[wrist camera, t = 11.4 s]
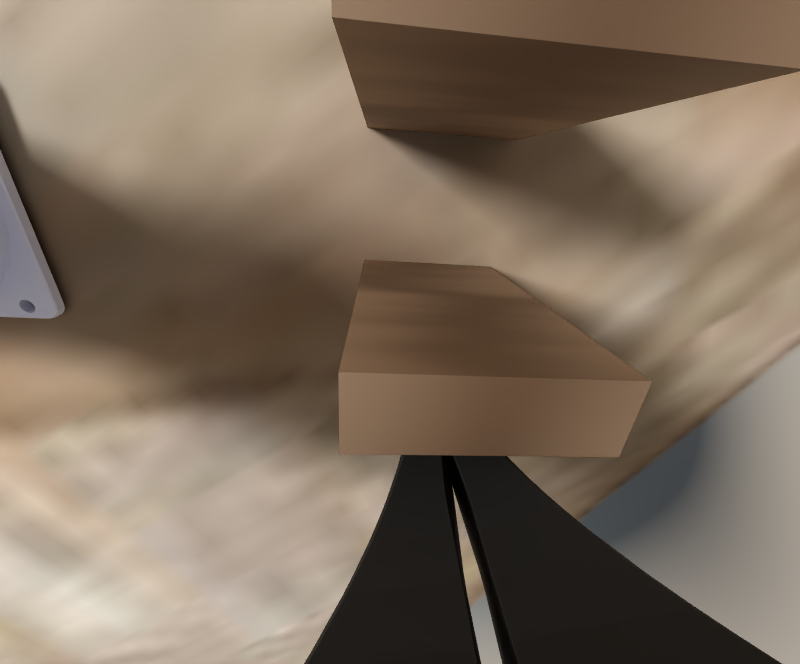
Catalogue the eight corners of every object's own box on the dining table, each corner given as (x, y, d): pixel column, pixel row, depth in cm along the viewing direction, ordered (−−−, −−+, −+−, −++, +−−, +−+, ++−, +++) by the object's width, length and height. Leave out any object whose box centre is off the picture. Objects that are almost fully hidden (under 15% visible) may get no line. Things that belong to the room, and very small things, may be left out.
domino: (367, 126, 11) (332, 18, 3) (368, 66, 10) (326, -271, 2) (514, 140, 11) (806, 69, 3) (525, 82, 10) (921, -166, 3)
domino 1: (363, 299, 13) (339, 453, 5) (364, 260, 13) (338, 372, 5) (483, 304, 14) (618, 457, 6) (490, 266, 13) (652, 381, 5)
